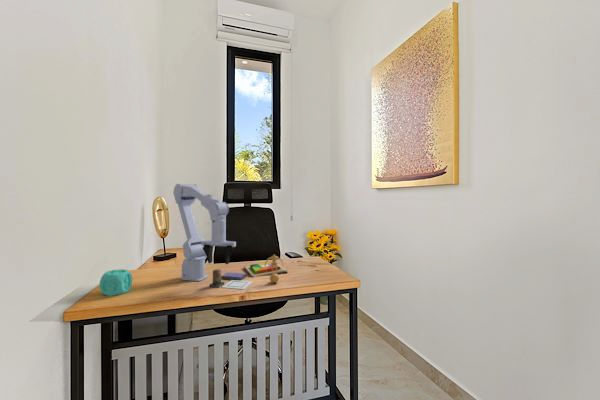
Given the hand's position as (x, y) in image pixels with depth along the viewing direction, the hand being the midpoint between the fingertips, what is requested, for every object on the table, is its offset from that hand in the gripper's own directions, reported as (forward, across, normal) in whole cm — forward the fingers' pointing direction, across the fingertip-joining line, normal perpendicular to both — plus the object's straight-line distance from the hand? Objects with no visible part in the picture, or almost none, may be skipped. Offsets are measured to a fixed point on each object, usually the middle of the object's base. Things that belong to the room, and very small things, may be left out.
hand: (218, 263), depth 118 cm
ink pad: (+9, +2, +12) cm, 15 cm away
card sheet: (+9, +8, +2) cm, 12 cm away
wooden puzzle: (+10, +13, +26) cm, 31 cm away
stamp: (+10, 0, 0) cm, 10 cm away
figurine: (+10, +22, +9) cm, 25 cm away
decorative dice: (+10, -35, -15) cm, 40 cm away
